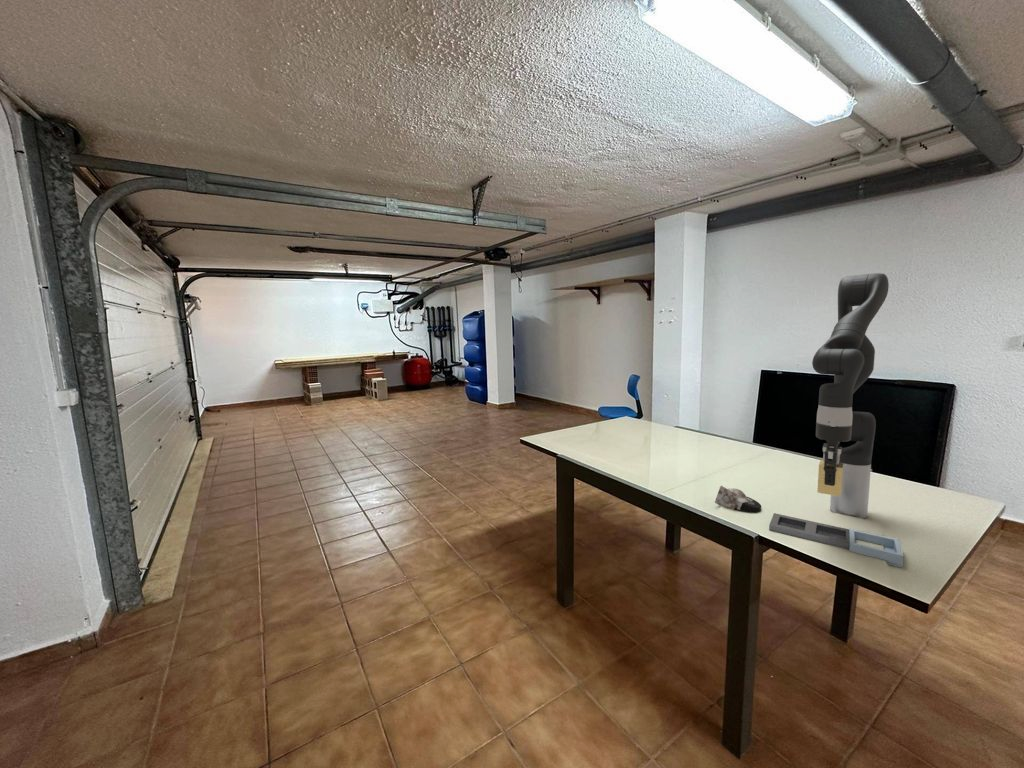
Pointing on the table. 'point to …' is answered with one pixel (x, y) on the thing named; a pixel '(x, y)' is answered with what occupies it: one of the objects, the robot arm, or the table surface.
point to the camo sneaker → (736, 500)
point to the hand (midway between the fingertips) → (830, 481)
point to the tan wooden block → (837, 487)
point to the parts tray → (890, 552)
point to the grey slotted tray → (810, 530)
